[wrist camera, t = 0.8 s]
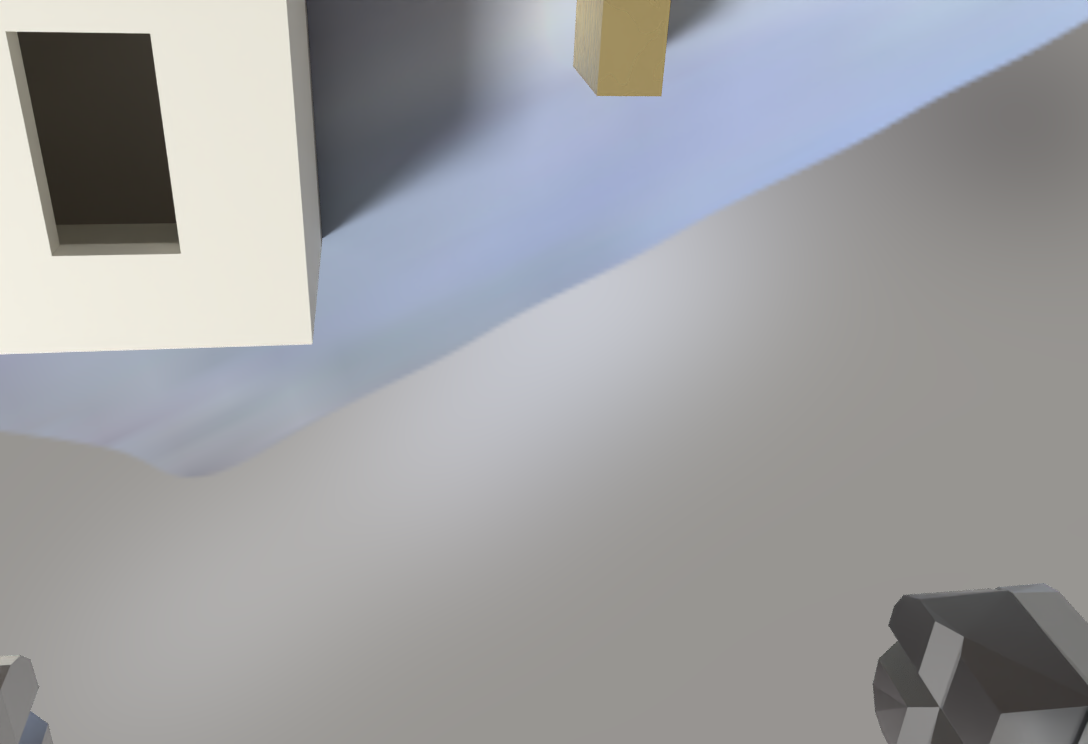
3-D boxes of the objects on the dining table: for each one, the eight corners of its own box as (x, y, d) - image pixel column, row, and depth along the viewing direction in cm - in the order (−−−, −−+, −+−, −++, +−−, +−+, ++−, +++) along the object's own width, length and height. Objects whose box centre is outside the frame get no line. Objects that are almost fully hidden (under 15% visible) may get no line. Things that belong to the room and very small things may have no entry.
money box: (-51, -129, 35) (-184, -108, 27) (298, -116, 37) (279, -92, 29) (29, 243, 42) (-56, 356, 34) (322, 239, 44) (312, 344, 36)
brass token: (580, -63, 40) (606, -47, 36) (641, -62, 40) (675, -45, 36) (573, 66, 42) (596, 95, 38) (630, 66, 43) (660, 96, 38)
